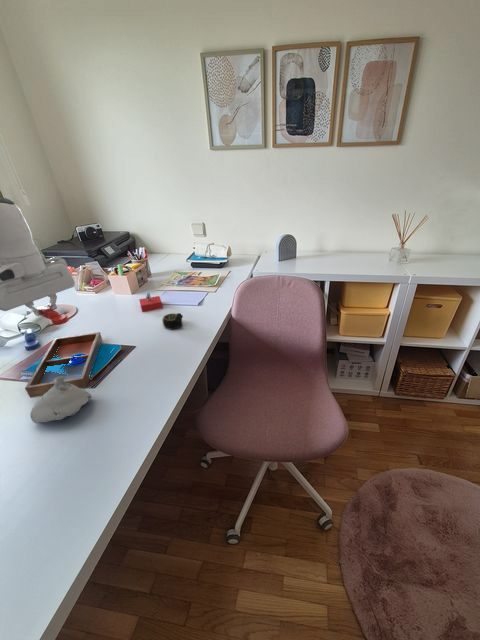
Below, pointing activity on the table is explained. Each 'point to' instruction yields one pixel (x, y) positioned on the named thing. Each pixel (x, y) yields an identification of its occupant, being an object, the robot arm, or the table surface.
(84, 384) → the sorting tray
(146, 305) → the red rectangular block
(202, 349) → the table surface
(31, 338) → the blue elongated piece
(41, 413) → the grey clay mound
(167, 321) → the tape measure
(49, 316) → the red spoon
